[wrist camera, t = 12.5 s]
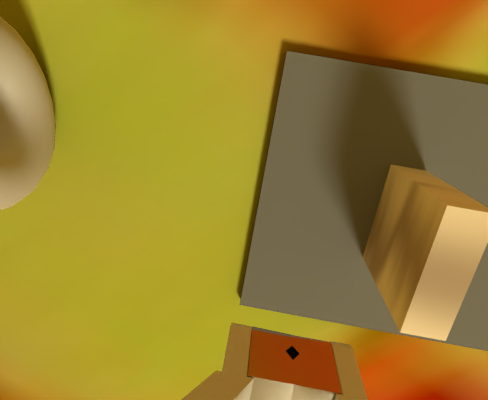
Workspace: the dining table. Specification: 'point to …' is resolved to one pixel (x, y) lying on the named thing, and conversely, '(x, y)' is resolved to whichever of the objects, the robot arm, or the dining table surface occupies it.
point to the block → (425, 250)
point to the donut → (22, 119)
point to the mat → (358, 186)
